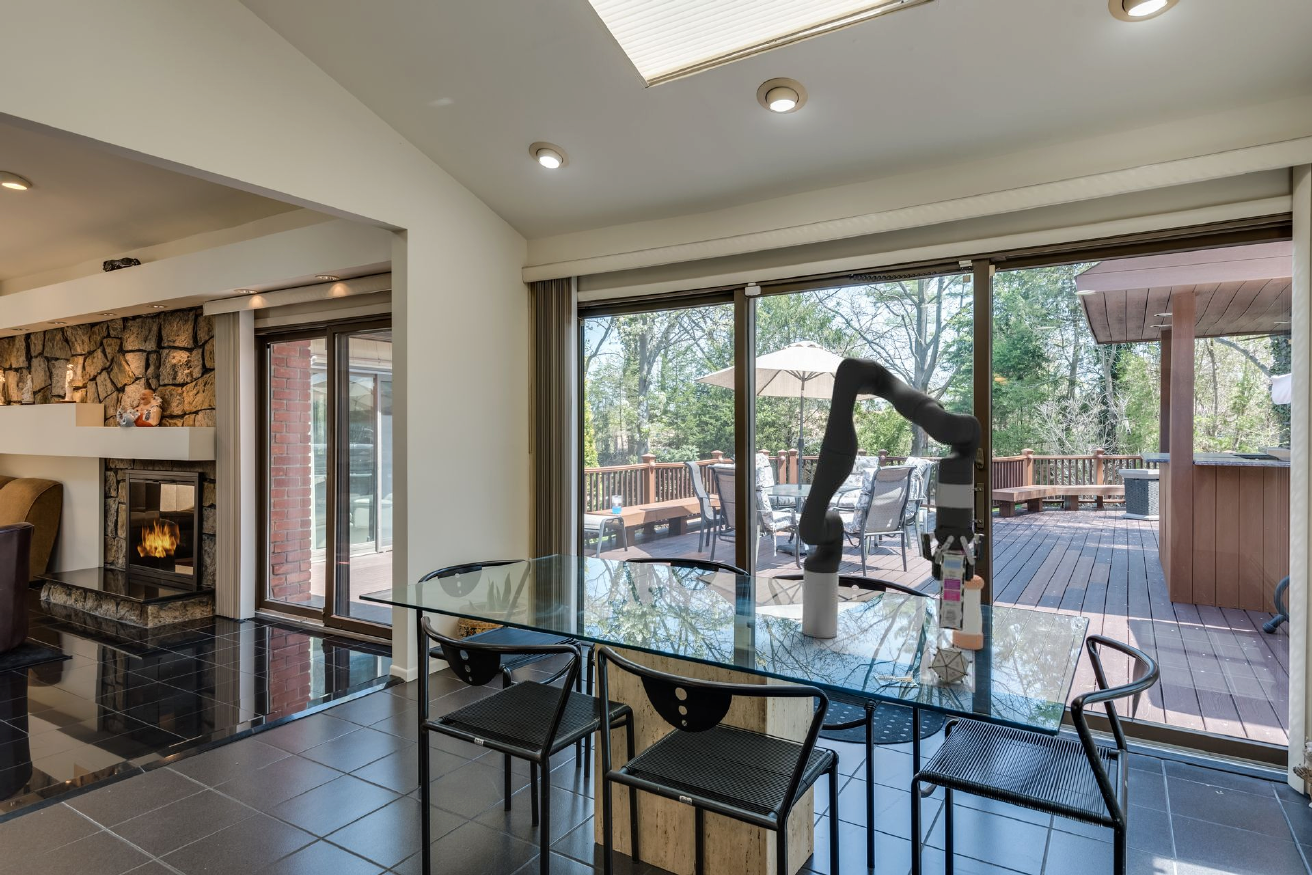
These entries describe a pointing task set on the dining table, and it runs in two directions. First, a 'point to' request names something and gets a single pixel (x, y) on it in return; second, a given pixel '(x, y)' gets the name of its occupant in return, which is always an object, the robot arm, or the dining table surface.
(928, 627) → the dining table surface
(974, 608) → the pepper shaker
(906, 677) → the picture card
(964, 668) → the game die
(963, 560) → the candy bar box
